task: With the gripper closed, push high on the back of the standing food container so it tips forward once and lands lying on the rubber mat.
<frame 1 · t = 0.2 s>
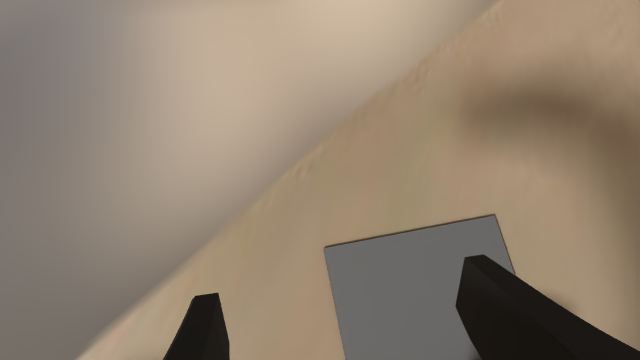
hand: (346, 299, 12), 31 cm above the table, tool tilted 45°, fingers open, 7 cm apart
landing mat: (427, 295, 42), on the table
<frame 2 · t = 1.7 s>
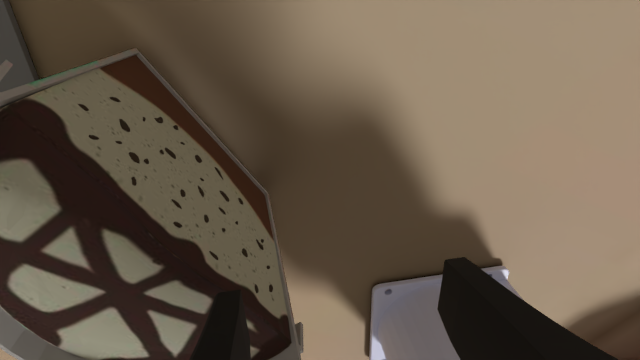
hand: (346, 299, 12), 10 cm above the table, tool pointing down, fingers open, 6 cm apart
food container: (162, 162, 20), on the table
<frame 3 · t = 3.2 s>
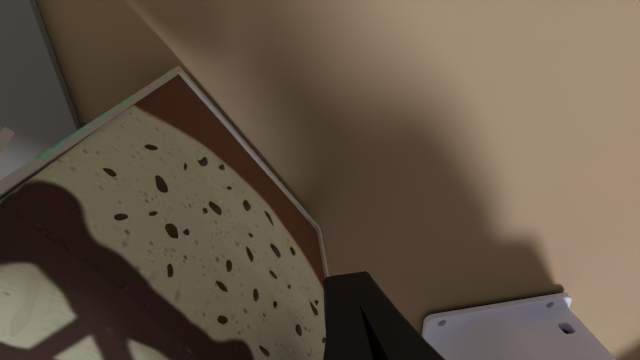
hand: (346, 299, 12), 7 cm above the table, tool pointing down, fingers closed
food container: (204, 190, 17), on the table
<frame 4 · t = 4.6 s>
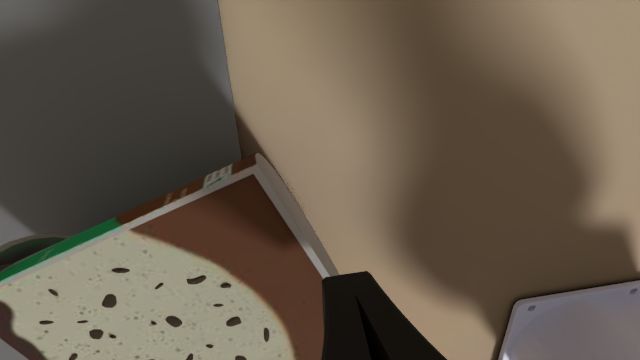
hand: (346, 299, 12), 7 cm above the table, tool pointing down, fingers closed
food container: (313, 226, 16), point 3 cm above the table, touching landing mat
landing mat: (78, 204, 17), on the table
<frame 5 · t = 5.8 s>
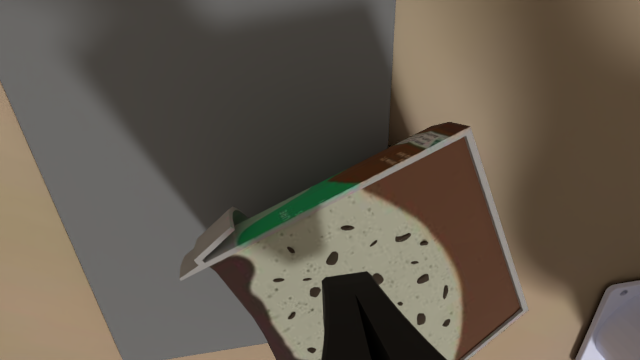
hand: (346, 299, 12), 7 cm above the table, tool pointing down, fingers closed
food container: (456, 197, 18), point 2 cm above the table, touching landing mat
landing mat: (230, 186, 17), on the table
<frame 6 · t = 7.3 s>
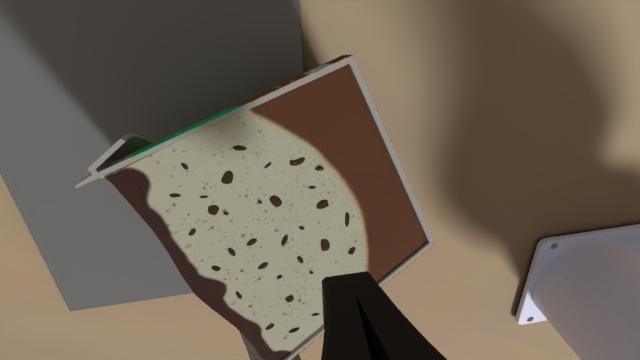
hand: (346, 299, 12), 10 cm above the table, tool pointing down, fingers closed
food container: (370, 140, 19), point 2 cm above the table, touching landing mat
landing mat: (157, 131, 19), on the table
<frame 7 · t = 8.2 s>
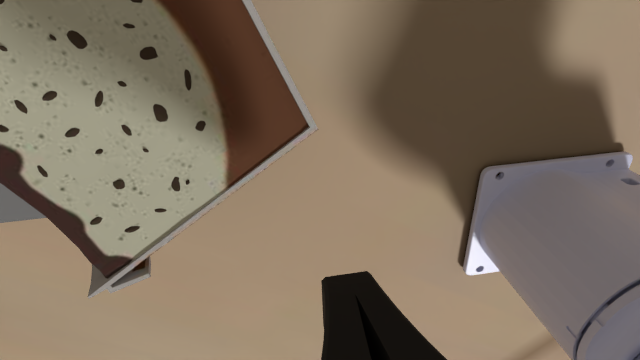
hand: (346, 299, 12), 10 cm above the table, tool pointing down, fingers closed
food container: (244, 7, 15), point 2 cm above the table, touching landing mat
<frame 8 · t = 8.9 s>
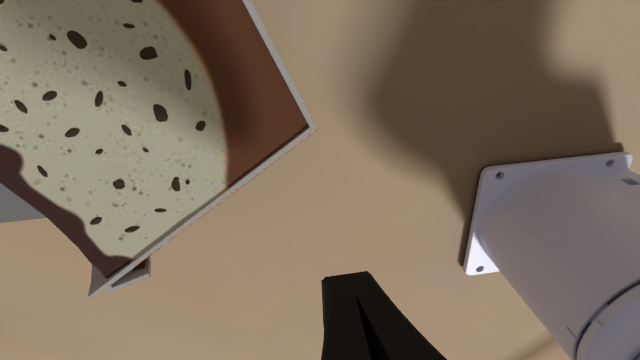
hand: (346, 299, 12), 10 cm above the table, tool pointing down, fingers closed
food container: (244, 7, 15), point 2 cm above the table, touching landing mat
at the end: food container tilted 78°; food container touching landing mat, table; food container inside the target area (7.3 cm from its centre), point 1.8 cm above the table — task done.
